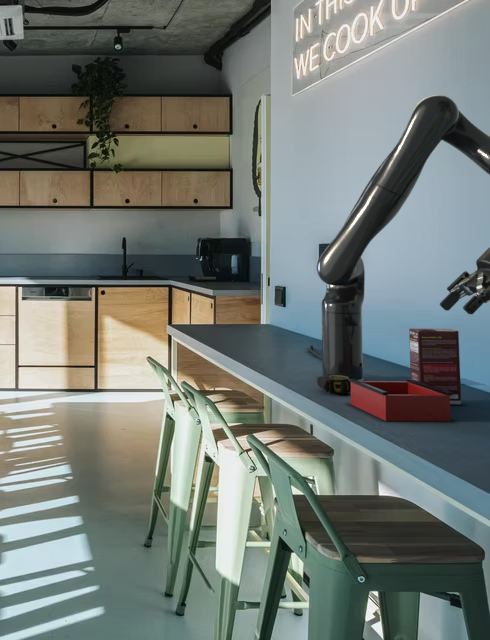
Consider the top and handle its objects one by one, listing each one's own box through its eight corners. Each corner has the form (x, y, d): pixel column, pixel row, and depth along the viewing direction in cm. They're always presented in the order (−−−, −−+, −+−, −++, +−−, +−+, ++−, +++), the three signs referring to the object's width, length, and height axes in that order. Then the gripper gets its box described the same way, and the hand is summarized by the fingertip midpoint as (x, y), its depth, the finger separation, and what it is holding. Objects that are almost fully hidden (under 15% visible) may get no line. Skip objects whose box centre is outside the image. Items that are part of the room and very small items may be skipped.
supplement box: (450, 400, 161) (448, 328, 162) (461, 405, 156) (460, 330, 157) (409, 399, 162) (408, 327, 162) (419, 404, 157) (418, 330, 158)
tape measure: (316, 389, 172) (316, 373, 173) (347, 390, 171) (346, 374, 171) (323, 395, 166) (323, 379, 166) (356, 396, 165) (355, 380, 165)
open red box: (348, 404, 157) (348, 378, 157) (412, 404, 157) (411, 378, 157) (383, 421, 142) (382, 392, 142) (453, 421, 142) (452, 392, 142)
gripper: (473, 245, 167) (424, 295, 167) (516, 245, 153) (462, 300, 153) (497, 268, 167) (447, 318, 167) (542, 270, 153) (488, 325, 153)
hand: (454, 309), depth 160 cm, fingers open, 8 cm apart
